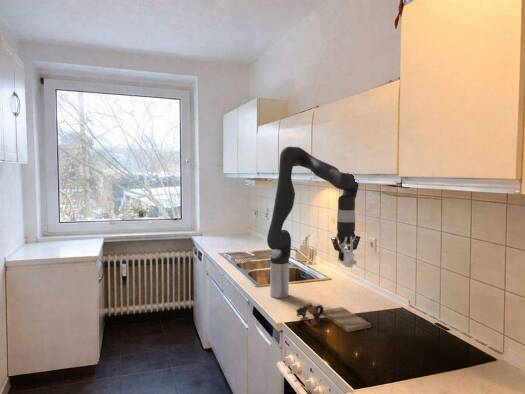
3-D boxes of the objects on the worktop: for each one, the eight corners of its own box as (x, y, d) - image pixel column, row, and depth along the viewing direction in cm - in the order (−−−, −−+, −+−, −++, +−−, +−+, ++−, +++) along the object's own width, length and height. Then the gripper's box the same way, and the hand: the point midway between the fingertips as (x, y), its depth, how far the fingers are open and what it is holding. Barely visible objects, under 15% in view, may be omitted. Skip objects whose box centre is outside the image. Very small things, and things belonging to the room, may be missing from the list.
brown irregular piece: (307, 329, 153) (299, 309, 155) (299, 330, 161) (290, 312, 163) (331, 316, 158) (322, 297, 160) (321, 318, 166) (313, 300, 168)
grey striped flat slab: (321, 313, 167) (321, 310, 167) (341, 310, 171) (341, 307, 171) (348, 331, 149) (348, 328, 149) (370, 327, 153) (370, 323, 153)
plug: (336, 259, 165) (337, 247, 164) (342, 258, 167) (344, 247, 165) (350, 269, 156) (352, 257, 154) (357, 268, 157) (359, 256, 156)
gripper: (354, 218, 166) (353, 256, 168) (327, 219, 161) (326, 259, 162) (365, 220, 160) (364, 260, 161) (337, 222, 154) (336, 263, 155)
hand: (345, 259), depth 162 cm, fingers closed on plug, 3 cm apart
